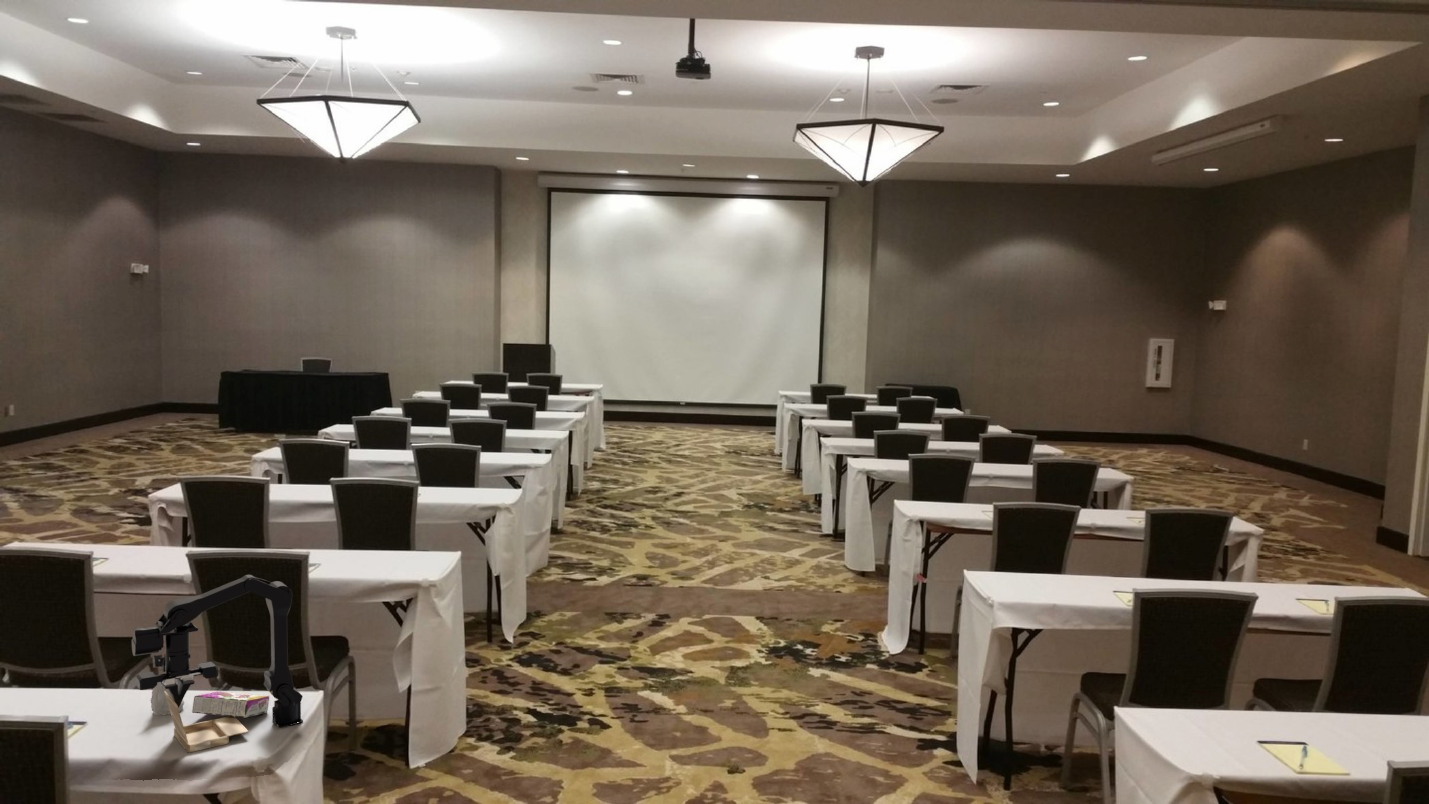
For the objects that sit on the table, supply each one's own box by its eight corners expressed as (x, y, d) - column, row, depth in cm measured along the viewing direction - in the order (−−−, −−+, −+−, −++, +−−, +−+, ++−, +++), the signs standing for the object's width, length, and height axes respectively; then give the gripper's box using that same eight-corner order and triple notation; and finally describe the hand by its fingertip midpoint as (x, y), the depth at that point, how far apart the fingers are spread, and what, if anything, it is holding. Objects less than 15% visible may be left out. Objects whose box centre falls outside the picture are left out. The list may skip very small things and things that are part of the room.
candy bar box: (217, 690, 298) (270, 695, 296) (215, 708, 298) (267, 713, 295) (193, 694, 288) (248, 700, 285) (190, 713, 287) (245, 718, 284)
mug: (189, 705, 299) (189, 665, 298) (166, 721, 287) (165, 679, 286) (163, 704, 299) (163, 664, 298) (139, 720, 287) (138, 678, 286)
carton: (232, 722, 288) (232, 715, 288) (249, 739, 277) (249, 731, 276) (173, 735, 278) (173, 727, 278) (188, 753, 267) (188, 745, 267)
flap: (176, 727, 277) (165, 690, 275) (188, 742, 268) (177, 704, 265) (175, 728, 277) (164, 691, 274) (187, 743, 268) (176, 705, 265)
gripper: (207, 635, 282) (207, 691, 283) (130, 647, 270) (130, 705, 271) (218, 646, 274) (218, 703, 275) (140, 658, 262) (140, 718, 263)
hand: (177, 707), depth 271 cm, fingers closed
